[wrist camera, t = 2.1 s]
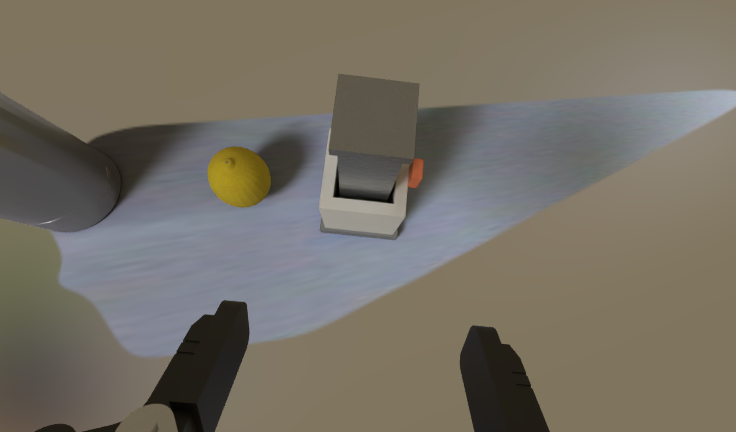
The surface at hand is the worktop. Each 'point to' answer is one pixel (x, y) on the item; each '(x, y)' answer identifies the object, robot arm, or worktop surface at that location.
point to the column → (372, 134)
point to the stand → (365, 204)
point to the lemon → (239, 177)
